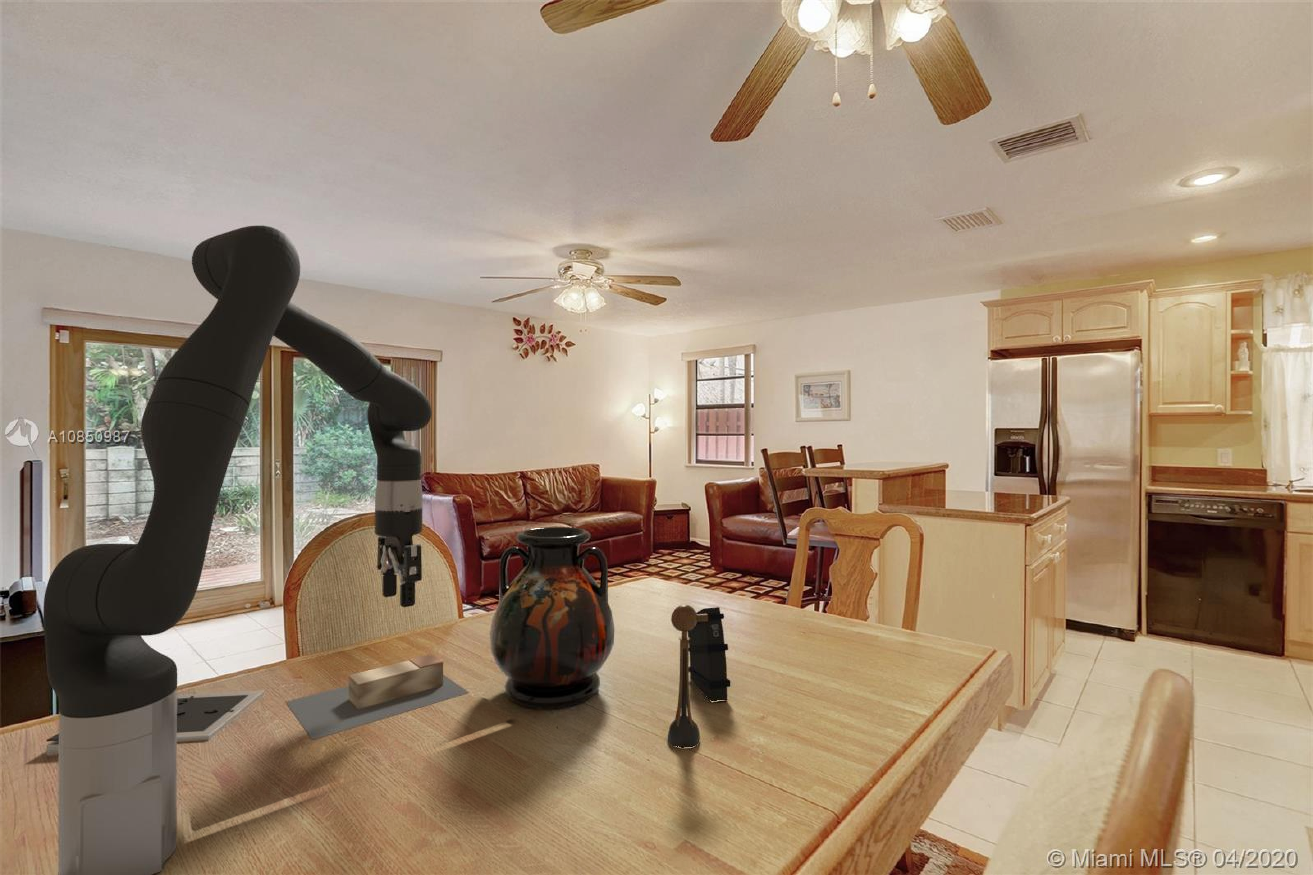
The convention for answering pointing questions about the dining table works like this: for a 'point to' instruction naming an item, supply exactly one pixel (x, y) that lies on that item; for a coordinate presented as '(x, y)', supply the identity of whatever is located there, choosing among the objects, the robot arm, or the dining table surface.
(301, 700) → the rubber mat
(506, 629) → the amphora vase
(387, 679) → the beige wooden block
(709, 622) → the black banded case
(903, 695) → the dining table surface
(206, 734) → the picture frame
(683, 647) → the wooden tabletop sculpture
